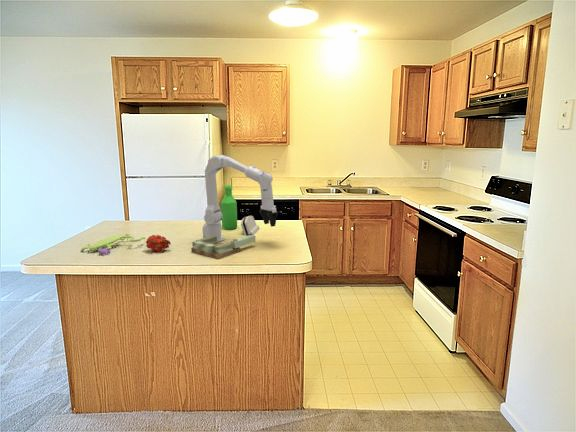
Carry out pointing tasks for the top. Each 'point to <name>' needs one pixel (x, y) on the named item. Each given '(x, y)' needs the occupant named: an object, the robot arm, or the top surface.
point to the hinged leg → (243, 241)
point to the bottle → (229, 210)
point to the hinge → (249, 225)
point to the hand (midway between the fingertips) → (269, 224)
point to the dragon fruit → (157, 243)
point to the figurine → (108, 241)
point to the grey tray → (213, 248)
